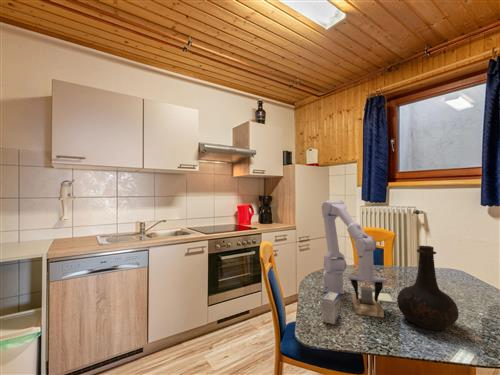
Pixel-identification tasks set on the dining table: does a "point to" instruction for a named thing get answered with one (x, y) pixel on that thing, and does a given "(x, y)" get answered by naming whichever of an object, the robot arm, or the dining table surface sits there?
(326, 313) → the medicine box
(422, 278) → the glass bottle
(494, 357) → the dining table surface
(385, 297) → the pad
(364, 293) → the square peg
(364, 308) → the rail plate
